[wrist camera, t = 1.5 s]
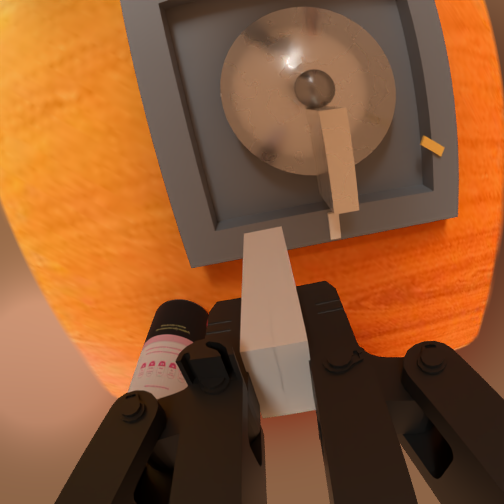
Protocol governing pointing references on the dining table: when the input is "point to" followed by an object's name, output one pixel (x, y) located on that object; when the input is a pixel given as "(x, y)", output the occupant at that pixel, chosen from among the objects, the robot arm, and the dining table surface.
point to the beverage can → (168, 347)
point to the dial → (309, 97)
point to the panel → (259, 172)
